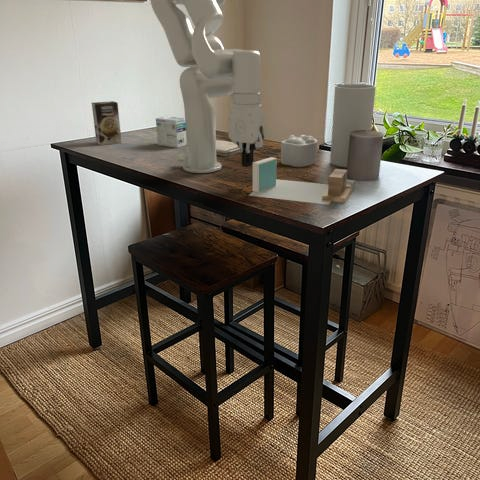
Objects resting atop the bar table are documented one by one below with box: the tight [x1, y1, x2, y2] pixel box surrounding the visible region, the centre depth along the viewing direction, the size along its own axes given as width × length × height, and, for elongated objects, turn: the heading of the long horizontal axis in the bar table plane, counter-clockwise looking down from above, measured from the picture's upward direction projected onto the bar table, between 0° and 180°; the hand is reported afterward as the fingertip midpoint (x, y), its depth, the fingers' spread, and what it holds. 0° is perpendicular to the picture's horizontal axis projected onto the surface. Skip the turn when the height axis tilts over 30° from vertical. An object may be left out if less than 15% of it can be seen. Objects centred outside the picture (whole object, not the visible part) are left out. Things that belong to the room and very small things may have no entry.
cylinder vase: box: [329, 83, 377, 169], centre depth 155 cm, size 12×12×25 cm
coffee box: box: [91, 101, 123, 146], centre depth 192 cm, size 9×6×16 cm
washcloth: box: [216, 139, 241, 157], centre depth 180 cm, size 12×18×3 cm, turn 53°
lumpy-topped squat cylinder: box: [280, 134, 318, 168], centre depth 162 cm, size 10×13×9 cm
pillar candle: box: [346, 129, 385, 182], centre depth 141 cm, size 10×10×15 cm
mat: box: [248, 178, 332, 206], centre depth 132 cm, size 22×17×1 cm
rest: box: [322, 184, 354, 203], centre depth 128 cm, size 6×12×2 cm, turn 158°
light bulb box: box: [155, 115, 187, 148], centre depth 188 cm, size 11×7×11 cm, turn 58°
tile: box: [252, 156, 278, 192], centre depth 133 cm, size 2×8×8 cm, turn 138°
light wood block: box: [328, 168, 355, 196], centre depth 129 cm, size 14×6×5 cm, turn 158°
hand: (247, 165), depth 136 cm, fingers closed
